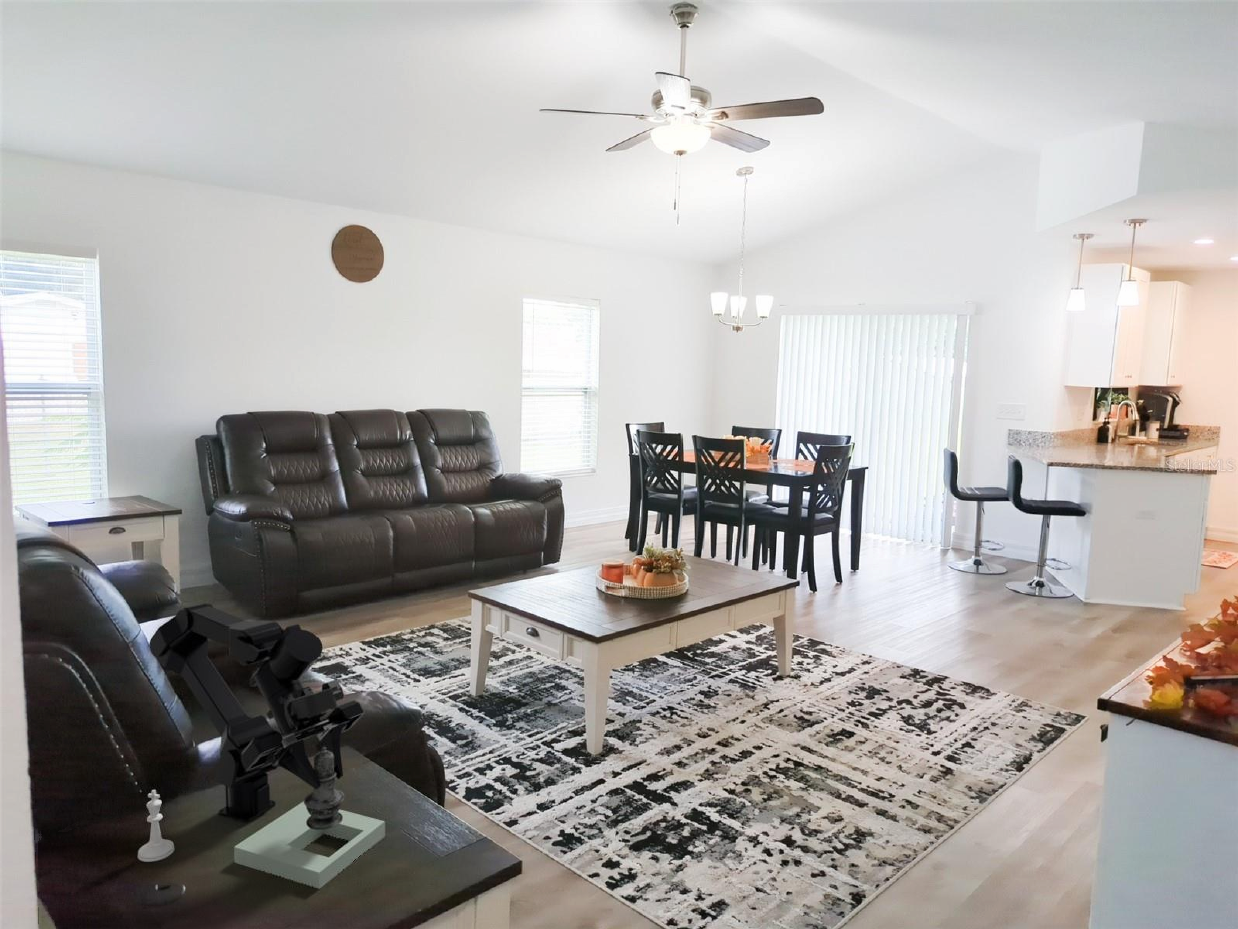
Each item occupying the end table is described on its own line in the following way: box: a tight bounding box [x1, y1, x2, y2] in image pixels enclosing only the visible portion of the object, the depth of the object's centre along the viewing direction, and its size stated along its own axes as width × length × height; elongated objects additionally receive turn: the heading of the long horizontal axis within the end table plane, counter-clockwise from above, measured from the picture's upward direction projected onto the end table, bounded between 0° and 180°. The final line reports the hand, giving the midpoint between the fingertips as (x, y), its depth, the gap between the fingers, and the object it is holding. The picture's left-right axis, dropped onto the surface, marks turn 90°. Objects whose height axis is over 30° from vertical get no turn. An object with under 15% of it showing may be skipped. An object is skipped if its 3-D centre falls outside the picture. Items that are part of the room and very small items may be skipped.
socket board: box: [233, 801, 386, 890], centre depth 131 cm, size 16×15×2 cm
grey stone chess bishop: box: [303, 746, 345, 830], centre depth 129 cm, size 6×6×12 cm
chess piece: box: [137, 789, 175, 863], centre depth 129 cm, size 5×5×10 cm
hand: (329, 782), depth 128 cm, fingers closed on grey stone chess bishop, 4 cm apart
